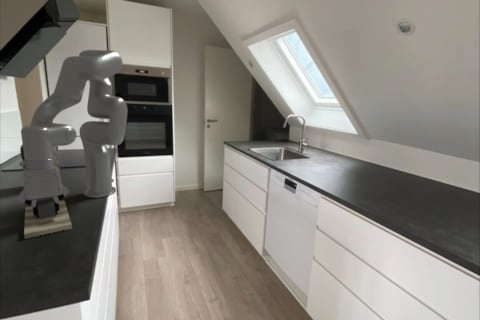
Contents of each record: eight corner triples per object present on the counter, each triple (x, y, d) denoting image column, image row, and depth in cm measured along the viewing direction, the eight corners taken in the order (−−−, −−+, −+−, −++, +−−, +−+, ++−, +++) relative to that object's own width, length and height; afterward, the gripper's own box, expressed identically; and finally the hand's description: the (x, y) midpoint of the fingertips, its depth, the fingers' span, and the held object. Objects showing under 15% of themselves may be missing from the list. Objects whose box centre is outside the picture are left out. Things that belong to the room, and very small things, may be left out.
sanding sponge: (38, 212, 93) (36, 198, 92) (54, 209, 96) (52, 196, 94) (39, 221, 87) (37, 206, 86) (56, 217, 90) (54, 203, 88)
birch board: (25, 210, 97) (25, 206, 97) (64, 203, 105) (64, 199, 104) (24, 239, 79) (24, 234, 79) (72, 228, 86) (71, 224, 86)
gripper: (5, 169, 79) (14, 225, 83) (71, 163, 89) (77, 213, 94) (6, 164, 85) (15, 216, 89) (69, 158, 95) (74, 206, 99)
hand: (47, 214), depth 91 cm, fingers closed on sanding sponge, 4 cm apart
